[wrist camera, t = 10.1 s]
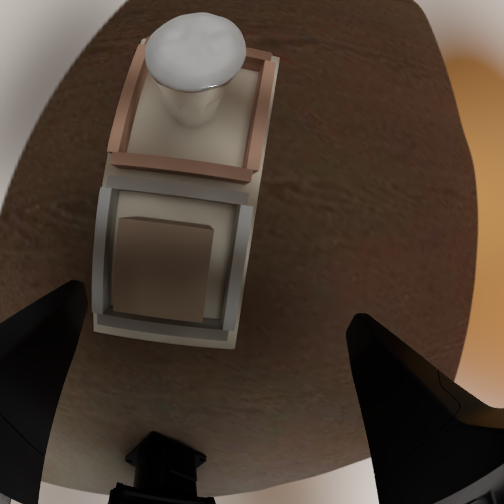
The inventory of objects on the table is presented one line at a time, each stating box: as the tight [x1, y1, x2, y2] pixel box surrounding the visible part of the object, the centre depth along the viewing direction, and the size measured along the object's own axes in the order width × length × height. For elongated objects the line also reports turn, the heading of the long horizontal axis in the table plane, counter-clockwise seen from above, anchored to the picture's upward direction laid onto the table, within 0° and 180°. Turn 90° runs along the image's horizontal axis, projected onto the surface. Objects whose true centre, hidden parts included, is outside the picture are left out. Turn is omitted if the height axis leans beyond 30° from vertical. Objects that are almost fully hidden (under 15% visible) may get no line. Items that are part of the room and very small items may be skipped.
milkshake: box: [145, 13, 246, 127], centre depth 13 cm, size 4×5×10 cm
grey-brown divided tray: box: [92, 36, 280, 349], centre depth 16 cm, size 23×11×6 cm, turn 171°
